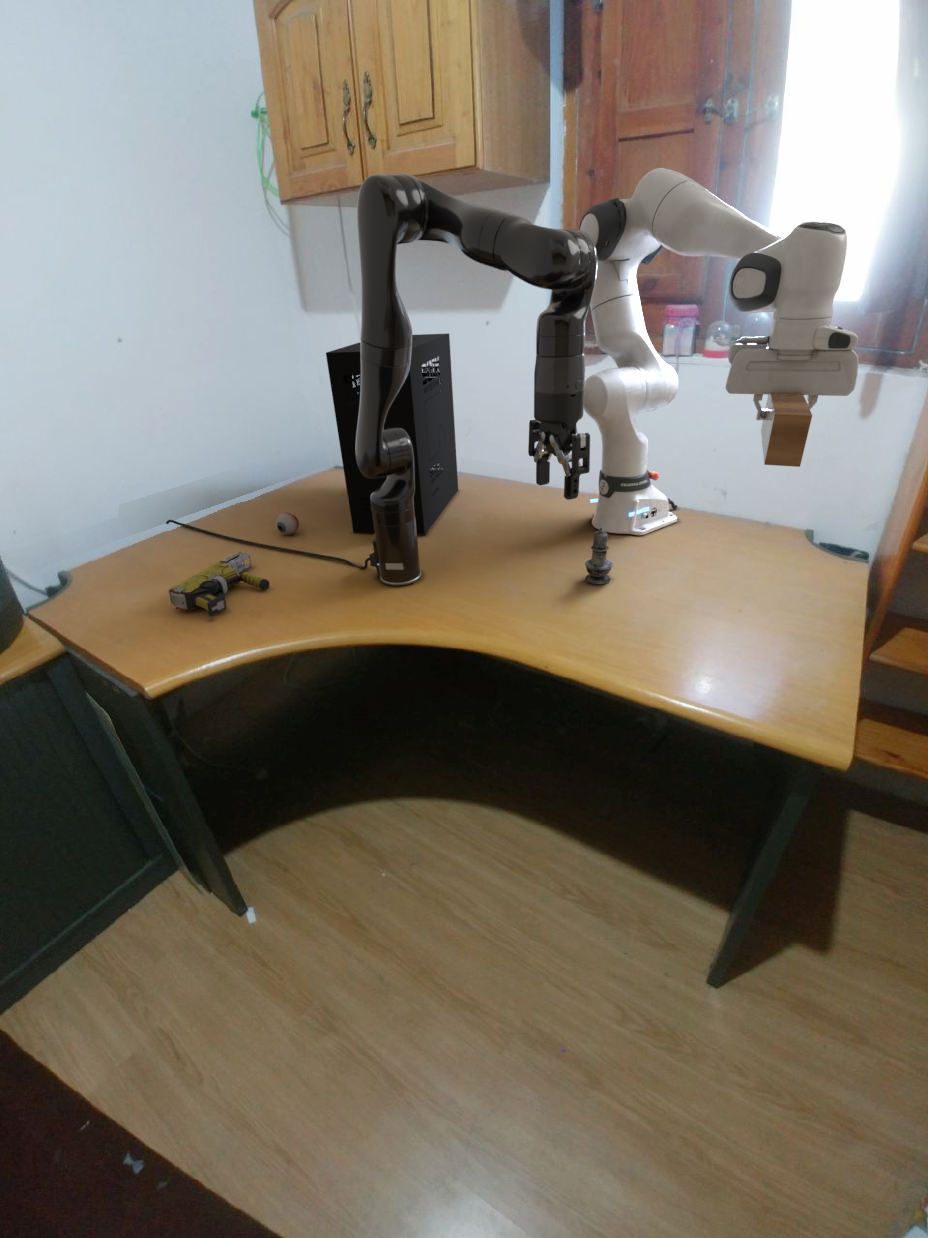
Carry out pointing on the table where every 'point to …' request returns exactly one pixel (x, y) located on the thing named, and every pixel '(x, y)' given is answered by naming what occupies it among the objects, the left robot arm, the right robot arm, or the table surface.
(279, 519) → the eyeball
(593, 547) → the dark grey chess piece
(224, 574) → the toy gun
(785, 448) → the bar
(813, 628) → the table surface
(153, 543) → the table surface
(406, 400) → the cardboard box
